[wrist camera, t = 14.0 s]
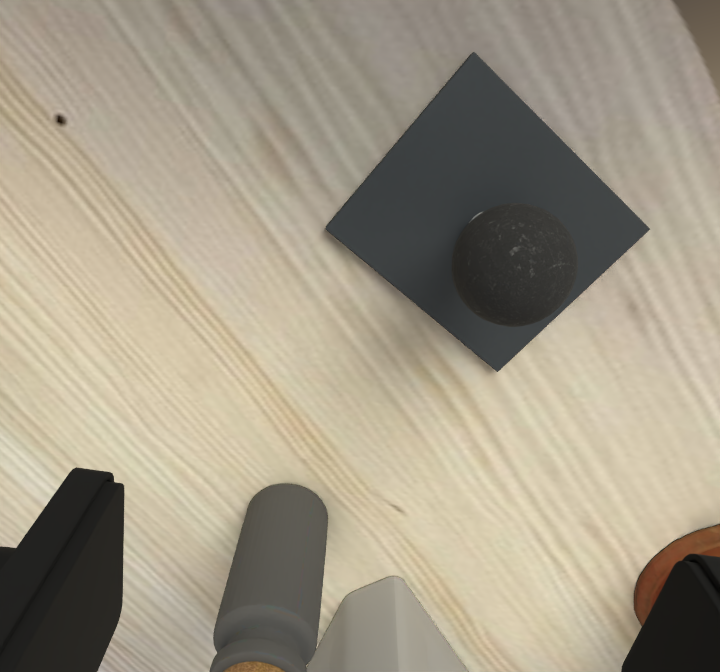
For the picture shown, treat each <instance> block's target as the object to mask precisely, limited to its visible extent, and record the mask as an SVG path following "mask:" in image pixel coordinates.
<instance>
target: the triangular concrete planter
mask: <svg viewBox="0 0 720 672" xmlns="http://www.w3.org/2000/svg"><path fill="white" fill-rule="evenodd" d="M306 670H307V672H468V670H467V669H466V667H465V666H464V665H463V663H462V662H461V660H460V659H459V658H458V656H457V655H456V653H455V652H454V651H453V649H452V648H451V646H450V645H449V643H448V642H447V641H446V639H445V638H444V636H443V635H442V634H441V632H440V631H439V629H438V628H437V627H436V625H435V624H434V622H433V621H432V620H431V618H430V617H429V615H428V614H427V612H426V611H425V610H424V608H423V607H422V605H421V604H420V603H419V601H418V600H417V598H416V597H415V596H414V594H413V593H412V591H411V590H410V589H409V587H408V586H407V584H406V583H405V582H404V580H402V579H401V578H400V577H395V576H392V577H387V578H385V579H382V580H380V581H378V582H375V583H373V584H370V585H368V586H366V587H363V588H361V589H358V590H356V591H354V592H352V593H350V594H348V595H347V596H346V597H345V598H344V600H343V601H342V603H341V605H340V607H339V609H338V611H337V612H336V614H335V616H334V618H333V620H332V622H331V624H330V626H329V627H328V629H327V631H326V633H325V635H324V637H323V639H322V640H321V642H320V644H319V646H318V648H317V650H316V652H315V653H314V656H313V657H312V659H311V661H310V663H309V665H308V666H307V668H306Z"/></svg>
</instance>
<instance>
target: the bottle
mask: <svg viewBox="0 0 720 672" xmlns="http://www.w3.org/2000/svg"><path fill="white" fill-rule="evenodd" d="M327 526H328V515H327V510H326V507H325V505H324V504H323V502H322V500H321V499H320V498H319V497H318V496H317V495H316V494H315V493H313V492H312V491H311V490H309V489H306V488H304V487H302V486H298V485H293V484H277V485H273V486H269V487H267V488H265V489H263V490H261V491H260V492H259V493H257V494H256V495H255V496H254V498H253V499H252V500H251V502H250V504H249V507H248V509H247V513H246V516H245V519H244V523H243V526H242V529H241V533H240V537H239V540H238V544H237V548H236V551H235V555H234V558H233V562H232V566H231V569H230V573H229V577H228V580H227V584H226V587H225V591H224V595H223V598H222V602H221V606H220V609H219V613H218V617H217V621H216V625H215V629H214V637H213V638H214V646H215V649H216V651H217V655H216V656H215V658H214V660H213V662H212V665H211V668H210V672H307V670H306V665H307V664H308V663H309V662H310V660H311V659H312V657H313V656H314V653H315V650H316V646H317V637H318V628H319V619H320V608H321V597H322V586H323V575H324V564H325V553H326V540H327Z"/></svg>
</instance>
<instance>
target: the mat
mask: <svg viewBox="0 0 720 672" xmlns="http://www.w3.org/2000/svg"><path fill="white" fill-rule="evenodd" d="M508 203H522V204H530V205H533V206H536V207H539V208H542V209H545V210H546V211H548V212H550V213H551V214H552V215H554V216H555V217H557V218H558V219H559V220H560V221H561V222H562V223H563V225H564V226H565V227H566V228H567V230H568V231H569V232H570V235H571V237H572V238H573V240H574V243H575V246H576V251H577V256H578V271H577V276H576V280H575V283H574V286H573V289H572V291H571V292H570V294H569V296H568V297H567V299H566V300H565V301H564V303H563V304H562V305H561V306H560V307H559V308H558V309H557V310H556V311H554V312H553V313H552V314H551V315H549V316H548V317H546V318H544V319H542V320H540V321H539V322H535V323H533V324H529V325H525V326H518V327H508V326H502V325H497V324H494V323H491V322H489V321H486V320H484V319H482V318H480V317H479V316H477V315H476V314H474V313H473V312H472V311H471V310H470V309H469V308H468V307H467V306H466V305H465V303H464V302H463V301H462V300H461V298H460V296H459V294H458V293H457V290H456V288H455V285H454V282H453V277H452V255H453V251H454V247H455V244H456V241H457V240H458V238H459V236H460V234H461V232H462V231H463V229H464V228H465V227H466V226H467V225H468V224H469V222H470V221H471V220H472V218H473V217H474V216H476V215H477V214H479V213H481V212H484V211H486V210H488V209H490V208H492V207H495V206H498V205H502V204H508ZM325 229H326V230H327V231H329V232H330V233H331V234H332V235H333V236H335V237H336V238H337V239H338V240H339V241H341V242H342V243H343V244H344V245H345V246H347V247H348V248H349V249H350V250H351V251H353V252H354V253H355V254H356V255H357V256H359V257H360V258H361V259H362V260H363V261H365V262H366V263H367V264H368V265H369V266H371V267H372V268H373V269H374V270H375V271H377V272H378V273H379V274H380V275H381V276H383V277H384V278H385V279H386V280H387V281H389V282H390V283H391V284H392V285H393V286H395V287H396V288H397V289H398V290H400V291H401V292H402V293H403V294H404V295H406V296H407V297H408V298H409V299H410V300H412V301H413V302H414V303H415V304H416V305H418V306H419V307H420V308H421V309H422V310H424V311H425V312H426V313H427V314H428V315H430V316H431V317H432V318H433V319H434V320H436V321H437V322H438V323H439V324H440V325H442V326H443V327H444V328H445V329H446V330H448V331H449V332H450V333H451V334H452V335H454V336H455V337H456V338H457V339H458V340H460V341H461V342H462V343H463V344H464V345H466V346H467V347H468V348H469V349H471V350H472V351H473V352H474V353H475V354H477V355H478V356H479V357H480V358H481V359H483V360H484V361H485V362H486V363H487V364H489V365H490V366H491V367H492V368H493V369H495V370H496V371H497V372H498V371H499V370H500V369H501V368H502V367H503V366H504V365H505V364H507V363H508V362H509V361H510V360H511V359H512V358H513V357H514V356H515V355H516V354H517V353H518V352H519V351H520V350H522V349H523V348H524V347H525V346H526V345H527V344H528V343H529V342H530V341H531V340H532V339H533V338H534V337H535V336H536V335H538V334H539V333H540V332H541V331H542V330H543V329H544V328H545V327H546V326H547V325H548V324H549V323H550V322H551V321H552V320H554V319H555V318H556V317H557V316H558V315H559V314H560V313H561V312H562V311H563V310H564V309H565V308H566V307H567V306H569V305H570V304H571V303H572V302H573V301H574V300H575V299H576V298H577V297H578V296H579V295H580V294H581V293H582V292H583V291H585V290H586V289H587V288H588V287H589V286H590V285H591V284H592V283H593V282H594V281H595V280H596V279H597V278H598V277H599V276H601V275H602V274H603V273H604V272H605V271H606V270H607V269H608V268H609V267H610V266H611V265H612V264H613V263H614V262H616V261H617V260H618V259H619V258H620V257H621V256H622V255H623V254H624V253H625V252H626V251H627V250H628V249H629V248H630V247H632V246H633V245H634V244H635V243H636V242H637V241H638V240H639V239H640V238H641V237H642V236H643V235H644V234H645V233H646V232H648V231H649V230H650V229H649V228H648V227H647V226H646V225H645V224H644V223H643V222H642V221H641V220H640V219H639V217H638V216H637V215H636V214H635V213H634V212H633V211H632V210H631V209H630V208H629V207H628V206H627V205H626V204H625V203H624V202H623V201H622V200H621V199H620V198H619V197H618V196H617V195H616V194H615V193H614V192H613V191H612V190H611V189H610V188H609V187H608V186H607V185H606V184H605V183H604V182H603V181H602V180H601V179H600V178H599V177H598V176H597V175H596V174H595V173H594V172H593V171H592V170H591V169H590V168H589V167H588V166H587V165H586V164H585V163H584V162H583V161H582V160H581V159H580V158H579V157H578V156H577V155H576V154H575V153H574V152H573V151H572V150H571V149H570V148H569V147H568V146H567V145H566V144H565V143H564V142H563V141H562V140H561V139H560V138H559V137H558V136H557V135H556V134H555V133H554V132H553V131H552V130H551V129H550V128H549V127H548V126H547V125H546V124H545V123H544V122H543V121H542V120H541V119H540V118H539V117H538V116H537V115H536V114H535V113H534V112H533V111H532V110H531V109H530V108H529V107H528V106H527V105H526V104H525V103H524V102H523V101H522V100H521V99H520V98H519V97H518V96H517V95H516V94H515V93H514V92H513V91H512V90H511V89H510V88H509V87H508V86H507V85H506V84H505V83H504V82H503V81H502V80H501V79H500V78H499V77H498V76H497V75H496V73H495V72H494V71H493V70H492V69H491V68H490V67H489V66H488V65H487V64H486V63H485V62H484V61H483V60H482V59H481V58H480V57H479V56H478V55H477V54H476V53H474V52H473V53H472V54H471V55H470V56H469V57H468V59H467V60H466V61H465V62H464V63H463V64H462V66H461V67H460V68H459V69H458V70H457V72H456V73H455V74H454V75H453V76H452V77H451V79H450V80H449V81H448V82H447V83H446V85H445V86H444V87H443V88H442V89H441V91H440V92H439V93H438V94H437V95H436V96H435V98H434V99H433V100H432V101H431V102H430V104H429V105H428V106H427V107H426V108H425V110H424V111H423V112H422V113H421V114H420V115H419V117H418V118H417V119H416V120H415V121H414V123H413V124H412V125H411V126H410V127H409V128H408V130H407V131H406V132H405V133H404V134H403V136H402V137H401V138H400V139H399V140H398V142H397V143H396V144H395V145H394V146H393V147H392V149H391V150H390V151H389V152H388V153H387V155H386V156H385V157H384V158H383V159H382V161H381V162H380V163H379V164H378V165H377V166H376V168H375V169H374V170H373V171H372V172H371V174H370V175H369V176H368V177H367V178H366V180H365V181H364V182H363V183H362V184H361V185H360V187H359V188H358V189H357V190H356V191H355V193H354V194H353V195H352V196H351V197H350V198H349V200H348V201H347V202H346V203H345V204H344V206H343V207H342V208H341V209H340V210H339V212H338V213H337V214H336V215H335V216H334V217H333V219H332V220H331V221H330V222H329V223H328V225H327V226H326V228H325Z"/></svg>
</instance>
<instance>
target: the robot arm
mask: <svg viewBox="0 0 720 672" xmlns="http://www.w3.org/2000/svg"><path fill="white" fill-rule="evenodd" d="M123 539H124V485H123V484H122V483H116V482H114V476H113V474H112V473H111V472H104V471H97V470H90V469H83V468H74V469H73V470H72V471H71V472H70V473H69V474H68V476H67V477H66V479H65V480H64V482H63V483H62V484H61V486H60V487H59V489H58V490H57V491H56V493H55V494H54V496H53V497H52V498H51V500H50V501H49V503H48V504H47V506H46V507H45V508H44V510H43V511H42V513H41V514H40V515H39V517H38V518H37V520H36V521H35V522H34V524H33V525H32V527H31V528H30V530H29V531H28V532H27V534H26V535H25V537H24V538H23V539H22V541H21V542H20V544H19V545H18V546H17V548H10V547H0V672H97V671H98V668H99V666H100V664H101V661H102V659H103V657H104V655H105V652H106V650H107V648H108V645H109V643H110V641H111V638H112V636H113V634H114V631H115V629H116V627H117V624H118V621H119V618H120V614H121V609H122V597H123ZM621 672H720V557H716V556H708V555H701V554H688V555H687V556H685V557H684V559H683V560H682V561H678V562H676V563H675V565H674V566H673V568H672V570H671V572H670V574H669V576H668V578H667V580H666V582H665V584H664V586H663V587H662V589H661V591H660V593H659V595H658V597H657V599H656V601H655V603H654V605H653V607H652V609H651V611H650V613H649V615H648V617H647V618H646V620H645V622H644V624H643V626H642V628H641V630H640V632H639V634H638V636H637V638H636V640H635V642H634V644H633V646H632V648H631V649H630V651H629V653H628V655H627V657H626V659H625V661H624V663H623V666H622V671H621Z"/></svg>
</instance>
